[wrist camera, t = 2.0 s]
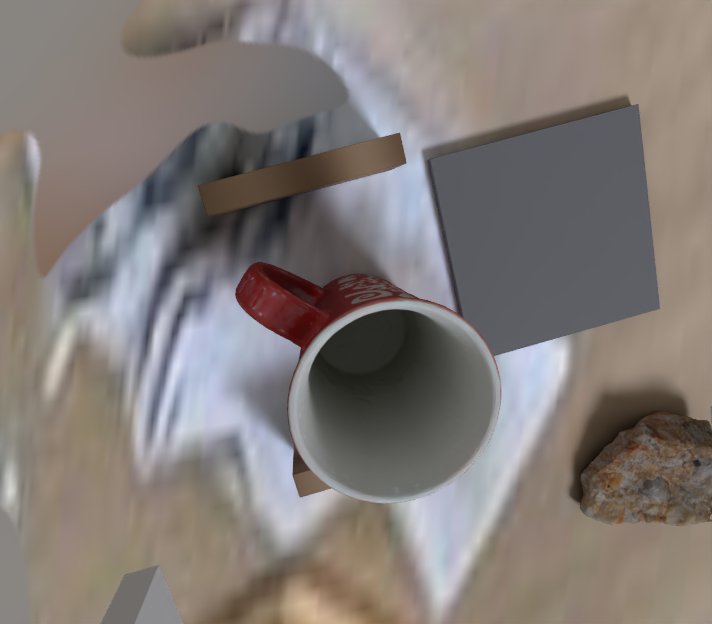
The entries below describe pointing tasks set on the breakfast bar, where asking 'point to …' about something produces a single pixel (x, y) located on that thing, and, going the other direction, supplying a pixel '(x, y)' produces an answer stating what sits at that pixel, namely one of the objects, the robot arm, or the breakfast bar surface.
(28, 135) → the breakfast bar surface
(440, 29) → the breakfast bar surface
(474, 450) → the mug
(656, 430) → the rock
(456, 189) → the coaster
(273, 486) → the breakfast bar surface
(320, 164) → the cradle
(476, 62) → the breakfast bar surface
